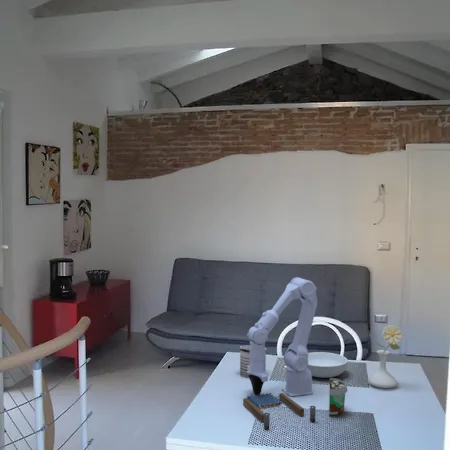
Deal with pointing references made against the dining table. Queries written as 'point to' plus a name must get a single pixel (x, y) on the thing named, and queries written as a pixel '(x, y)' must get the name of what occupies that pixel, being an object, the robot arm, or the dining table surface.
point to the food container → (336, 397)
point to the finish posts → (267, 417)
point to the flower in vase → (382, 375)
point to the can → (246, 360)
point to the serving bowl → (326, 364)
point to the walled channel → (282, 398)
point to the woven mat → (264, 400)
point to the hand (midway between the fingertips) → (257, 394)
